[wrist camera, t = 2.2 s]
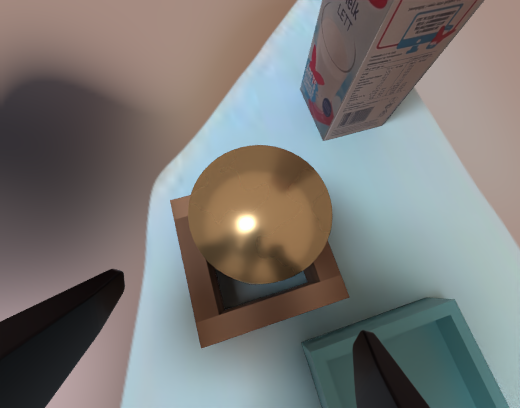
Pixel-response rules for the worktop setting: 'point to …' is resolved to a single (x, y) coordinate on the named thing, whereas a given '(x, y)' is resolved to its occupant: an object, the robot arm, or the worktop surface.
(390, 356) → the robot arm
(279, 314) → the brown square frame
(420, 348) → the teal tray
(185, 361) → the worktop surface
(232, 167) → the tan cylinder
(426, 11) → the juice carton
